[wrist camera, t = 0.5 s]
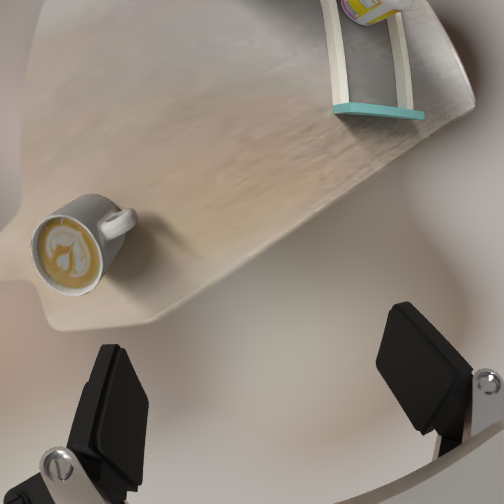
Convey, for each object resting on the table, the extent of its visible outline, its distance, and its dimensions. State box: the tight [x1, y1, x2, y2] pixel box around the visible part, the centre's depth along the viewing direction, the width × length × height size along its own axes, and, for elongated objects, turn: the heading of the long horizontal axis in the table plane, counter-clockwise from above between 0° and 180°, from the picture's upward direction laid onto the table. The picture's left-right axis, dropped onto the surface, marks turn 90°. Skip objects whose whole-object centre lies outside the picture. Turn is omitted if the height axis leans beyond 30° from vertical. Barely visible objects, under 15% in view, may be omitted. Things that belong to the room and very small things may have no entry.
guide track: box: [320, 0, 425, 120], centre depth 28 cm, size 24×12×5 cm, turn 4°
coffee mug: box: [31, 194, 138, 296], centre depth 31 cm, size 13×10×10 cm
